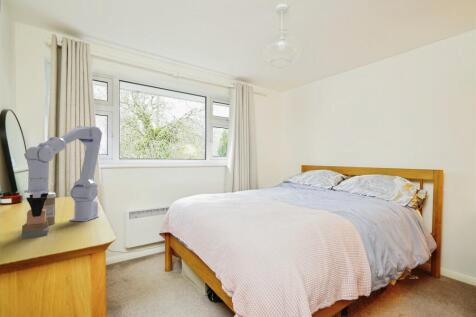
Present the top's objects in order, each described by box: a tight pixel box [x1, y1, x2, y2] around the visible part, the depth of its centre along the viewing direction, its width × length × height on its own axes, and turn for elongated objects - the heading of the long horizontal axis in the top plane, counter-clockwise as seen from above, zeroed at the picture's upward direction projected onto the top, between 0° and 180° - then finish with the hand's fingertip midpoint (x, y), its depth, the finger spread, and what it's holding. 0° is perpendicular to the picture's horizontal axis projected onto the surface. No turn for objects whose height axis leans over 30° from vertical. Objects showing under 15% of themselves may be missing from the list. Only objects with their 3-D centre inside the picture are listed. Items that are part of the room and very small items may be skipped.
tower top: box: [21, 220, 49, 234], centre depth 85 cm, size 6×6×2 cm
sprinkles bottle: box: [43, 192, 57, 226], centre depth 98 cm, size 5×5×14 cm
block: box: [26, 209, 46, 225], centre depth 86 cm, size 5×5×4 cm
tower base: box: [21, 225, 50, 239], centre depth 85 cm, size 7×7×2 cm
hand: (37, 214), depth 86 cm, fingers open, 7 cm apart
